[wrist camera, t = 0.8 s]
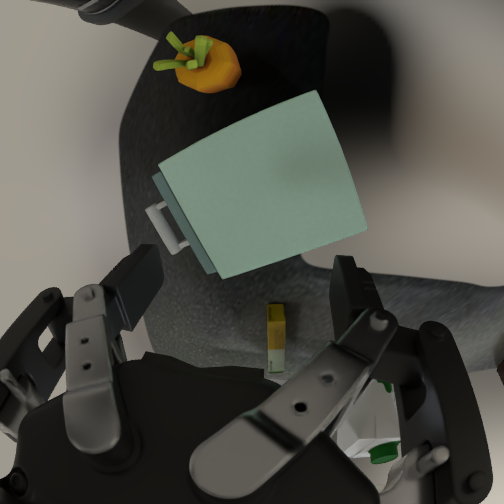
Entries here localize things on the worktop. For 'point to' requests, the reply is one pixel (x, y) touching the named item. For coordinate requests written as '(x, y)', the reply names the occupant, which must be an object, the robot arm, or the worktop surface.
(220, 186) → the green drawer housing
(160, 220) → the green drawer
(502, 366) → the manual coffee grinder
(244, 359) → the worktop surface
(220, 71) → the carrot
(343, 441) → the milk carton
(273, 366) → the medication box
